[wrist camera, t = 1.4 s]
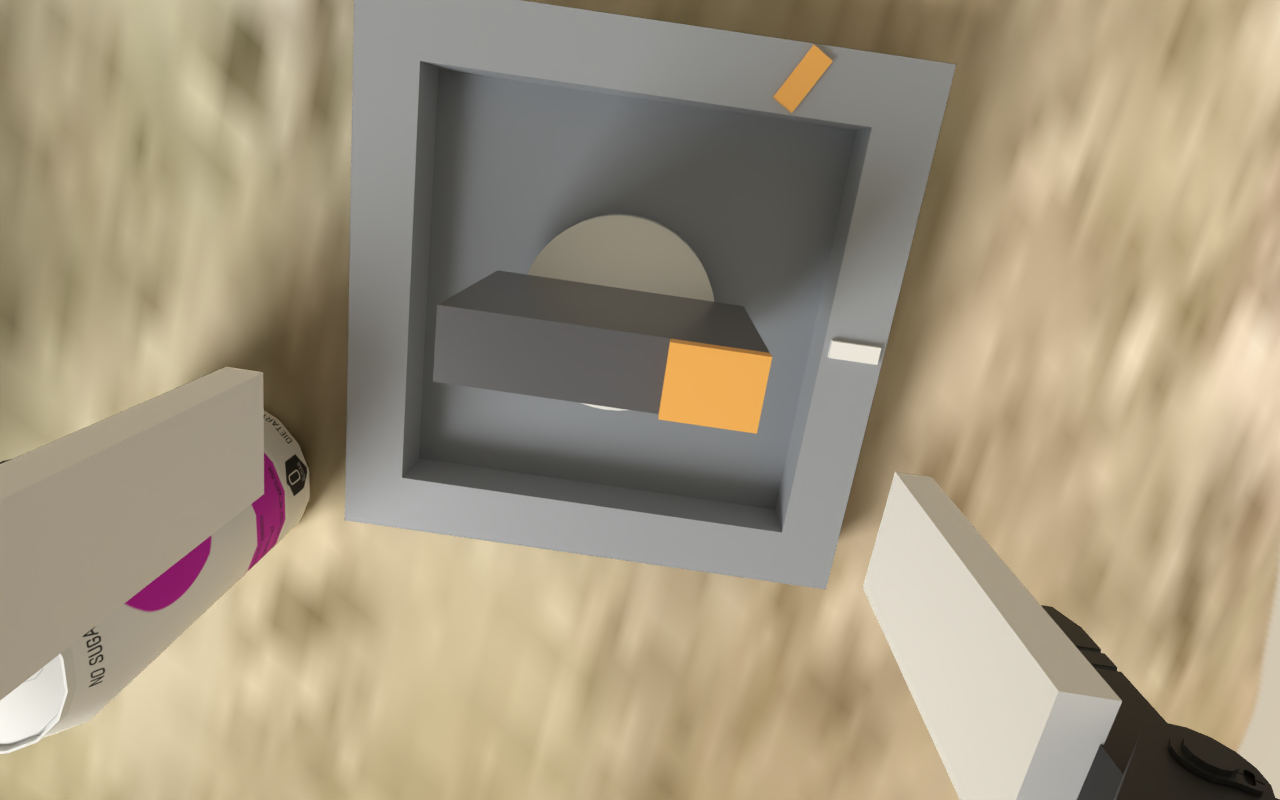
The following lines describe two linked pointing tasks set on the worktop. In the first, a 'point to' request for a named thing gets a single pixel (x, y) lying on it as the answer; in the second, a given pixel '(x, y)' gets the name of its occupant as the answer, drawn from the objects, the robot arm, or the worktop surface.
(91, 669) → the supplement can
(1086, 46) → the worktop surface
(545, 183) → the dial panel
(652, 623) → the worktop surface
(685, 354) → the dial
